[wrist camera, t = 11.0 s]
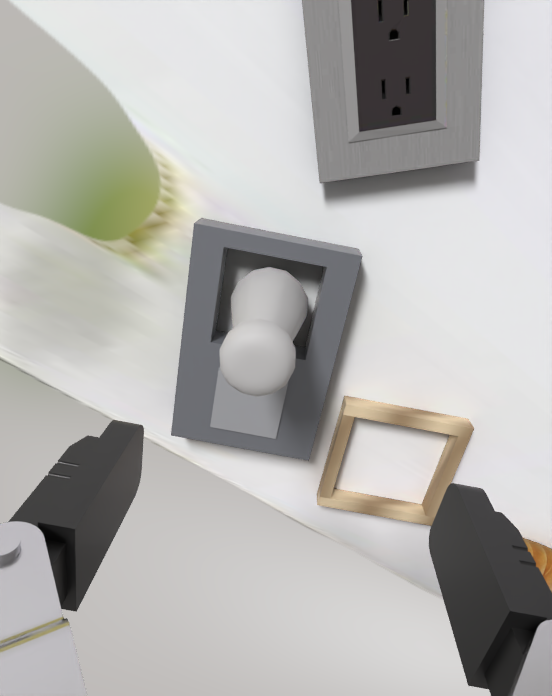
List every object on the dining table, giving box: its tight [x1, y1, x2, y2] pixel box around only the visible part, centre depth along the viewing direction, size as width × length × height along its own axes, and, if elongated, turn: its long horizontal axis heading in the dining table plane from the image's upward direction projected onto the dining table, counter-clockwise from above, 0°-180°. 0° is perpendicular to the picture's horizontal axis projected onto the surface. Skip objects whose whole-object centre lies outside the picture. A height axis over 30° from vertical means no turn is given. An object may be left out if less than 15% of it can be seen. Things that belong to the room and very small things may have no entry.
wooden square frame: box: [317, 396, 474, 526], centre depth 42 cm, size 11×11×2 cm
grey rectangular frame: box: [171, 218, 362, 460], centre depth 37 cm, size 12×18×3 cm, turn 170°
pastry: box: [523, 538, 552, 592], centre depth 45 cm, size 9×7×4 cm
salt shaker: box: [219, 267, 308, 397], centre depth 31 cm, size 6×6×13 cm
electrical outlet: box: [302, 0, 484, 183], centre depth 29 cm, size 13×10×2 cm
